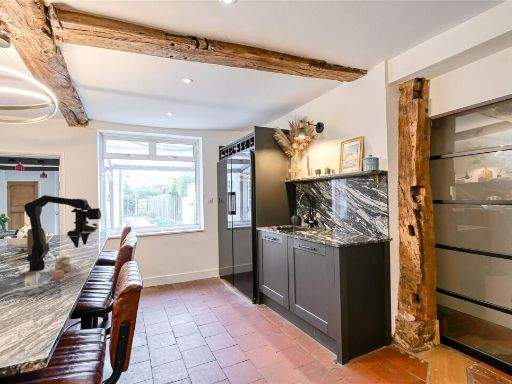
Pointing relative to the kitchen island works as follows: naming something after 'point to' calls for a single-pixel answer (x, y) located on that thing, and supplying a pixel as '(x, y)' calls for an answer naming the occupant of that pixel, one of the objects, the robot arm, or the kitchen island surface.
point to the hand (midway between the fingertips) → (80, 246)
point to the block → (30, 240)
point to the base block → (63, 267)
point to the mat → (73, 269)
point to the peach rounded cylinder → (58, 274)
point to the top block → (62, 260)
